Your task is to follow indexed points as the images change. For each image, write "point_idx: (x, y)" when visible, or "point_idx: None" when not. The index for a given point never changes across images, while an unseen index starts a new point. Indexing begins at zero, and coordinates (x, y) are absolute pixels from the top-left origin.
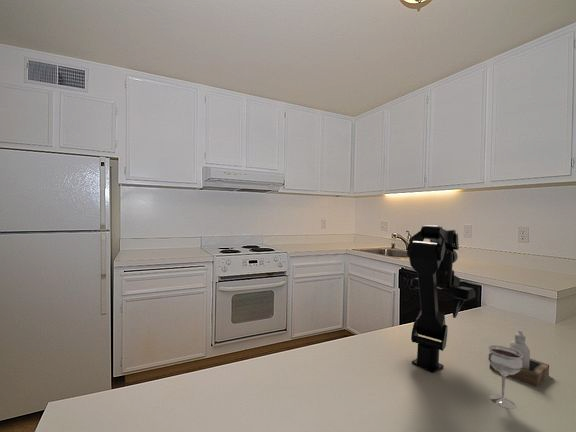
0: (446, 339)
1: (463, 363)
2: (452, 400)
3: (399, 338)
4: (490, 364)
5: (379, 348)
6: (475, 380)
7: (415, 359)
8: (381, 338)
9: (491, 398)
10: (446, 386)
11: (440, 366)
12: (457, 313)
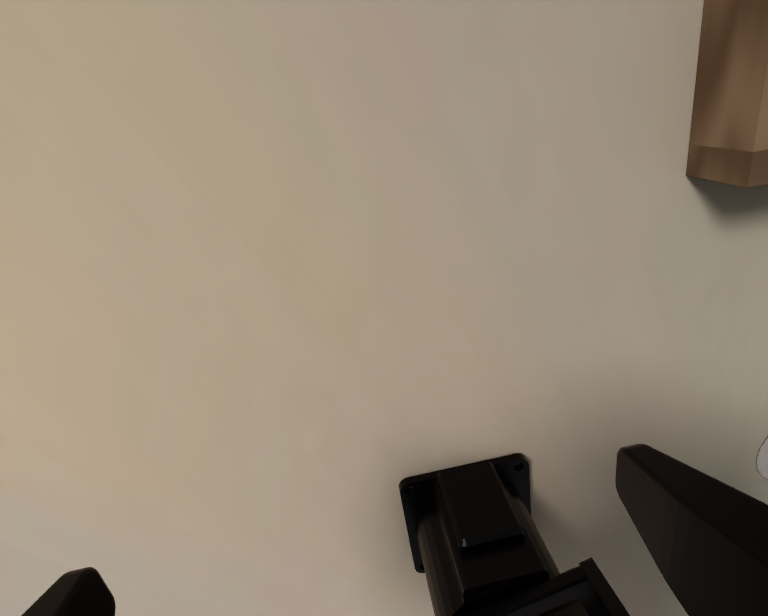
0: (614, 593)
1: (556, 295)
2: (667, 594)
3: (75, 414)
4: (710, 179)
5: (213, 610)
6: (675, 406)
7: (412, 546)
8: (61, 532)
9: (765, 472)
10: (615, 555)
11: (525, 484)
12: (727, 497)
